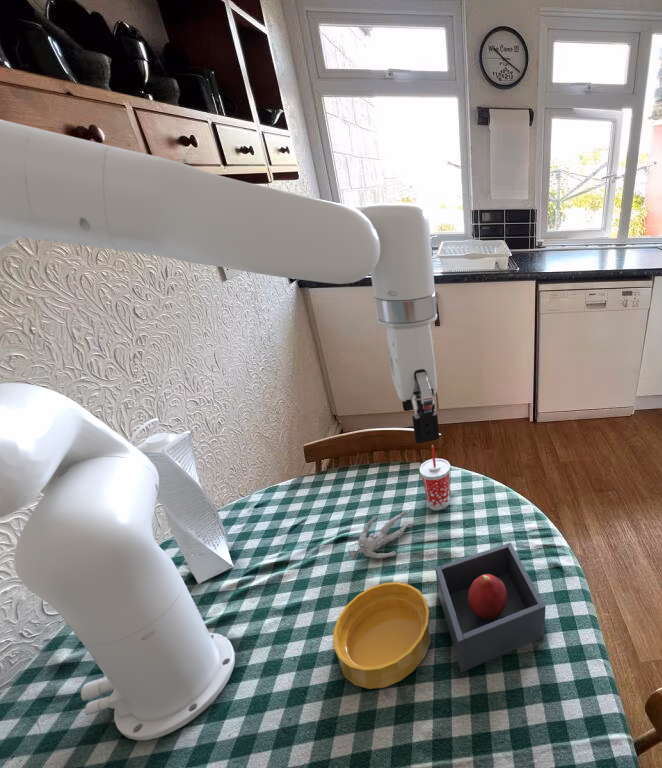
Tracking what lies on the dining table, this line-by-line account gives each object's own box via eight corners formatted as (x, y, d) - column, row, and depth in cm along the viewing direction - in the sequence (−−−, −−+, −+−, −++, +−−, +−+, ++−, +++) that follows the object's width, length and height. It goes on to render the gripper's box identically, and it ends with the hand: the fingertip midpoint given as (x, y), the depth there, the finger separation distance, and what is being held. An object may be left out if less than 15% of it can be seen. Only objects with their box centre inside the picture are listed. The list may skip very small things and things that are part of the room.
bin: (461, 673, 56) (457, 641, 53) (438, 596, 66) (435, 567, 63) (544, 637, 60) (545, 606, 57) (511, 570, 71) (510, 542, 68)
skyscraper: (185, 562, 73) (120, 425, 61) (234, 540, 77) (182, 409, 65) (191, 592, 67) (120, 448, 55) (243, 567, 72) (188, 429, 60)
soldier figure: (421, 538, 79) (374, 568, 68) (405, 548, 81) (357, 578, 70) (402, 502, 80) (353, 525, 69) (387, 512, 82) (337, 536, 71)
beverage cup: (459, 501, 86) (455, 445, 80) (436, 517, 82) (430, 459, 76) (440, 488, 90) (434, 434, 84) (417, 503, 86) (410, 447, 80)
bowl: (341, 708, 52) (334, 687, 50) (337, 620, 63) (332, 600, 61) (440, 666, 56) (438, 645, 55) (421, 591, 67) (418, 571, 65)
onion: (501, 592, 66) (500, 555, 63) (512, 624, 61) (512, 587, 58) (465, 602, 65) (462, 565, 61) (474, 636, 60) (471, 598, 56)
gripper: (369, 296, 59) (386, 403, 66) (385, 331, 44) (404, 462, 52) (422, 291, 61) (432, 394, 69) (453, 322, 47) (462, 448, 54)
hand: (420, 423), depth 60 cm, fingers open, 9 cm apart
